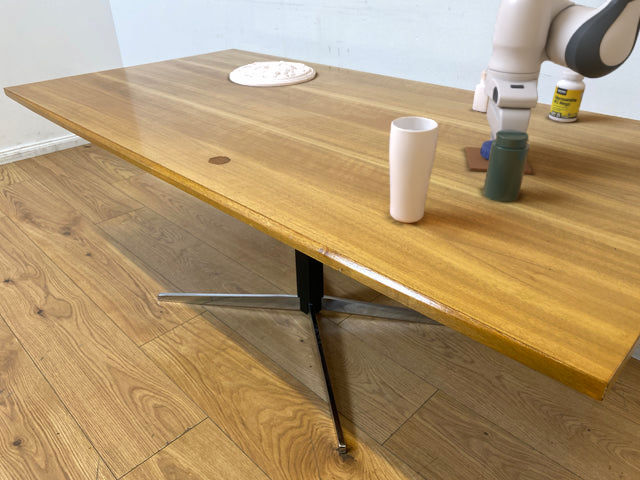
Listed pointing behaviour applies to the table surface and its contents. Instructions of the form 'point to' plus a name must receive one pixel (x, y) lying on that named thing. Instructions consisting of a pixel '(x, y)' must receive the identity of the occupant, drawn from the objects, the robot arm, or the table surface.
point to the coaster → (483, 160)
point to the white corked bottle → (481, 95)
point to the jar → (506, 165)
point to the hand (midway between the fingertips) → (496, 156)
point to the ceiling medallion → (272, 74)
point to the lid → (486, 149)
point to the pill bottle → (567, 97)
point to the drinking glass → (411, 166)
